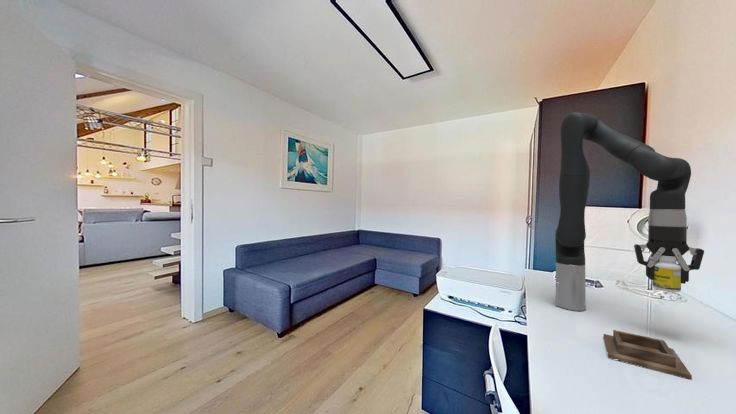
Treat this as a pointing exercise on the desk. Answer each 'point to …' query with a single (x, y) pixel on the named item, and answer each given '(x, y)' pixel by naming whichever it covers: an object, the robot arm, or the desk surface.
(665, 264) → the supplement bottle
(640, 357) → the cup holder
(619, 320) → the desk surface
